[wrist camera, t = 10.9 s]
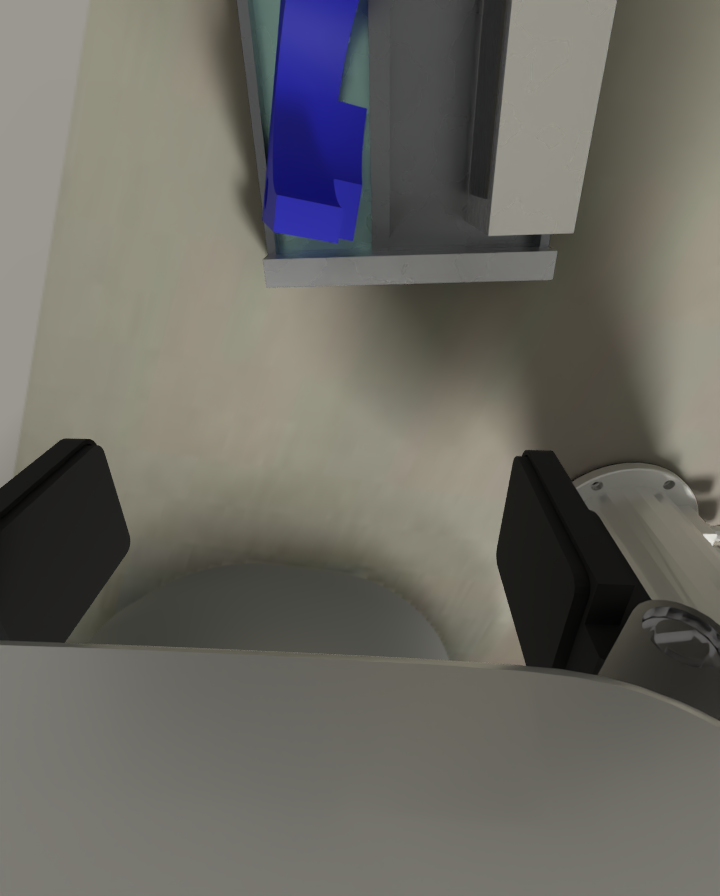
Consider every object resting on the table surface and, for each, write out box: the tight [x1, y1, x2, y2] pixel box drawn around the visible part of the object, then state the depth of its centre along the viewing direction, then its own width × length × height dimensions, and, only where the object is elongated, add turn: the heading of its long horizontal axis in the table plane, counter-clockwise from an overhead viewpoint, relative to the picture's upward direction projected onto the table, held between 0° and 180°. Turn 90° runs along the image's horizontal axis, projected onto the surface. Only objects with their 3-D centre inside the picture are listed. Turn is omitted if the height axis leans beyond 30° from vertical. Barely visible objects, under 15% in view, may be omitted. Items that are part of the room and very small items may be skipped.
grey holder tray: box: [237, 0, 617, 288], centre depth 23 cm, size 16×16×7 cm
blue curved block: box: [262, 0, 367, 244], centre depth 22 cm, size 12×4×6 cm, turn 169°
